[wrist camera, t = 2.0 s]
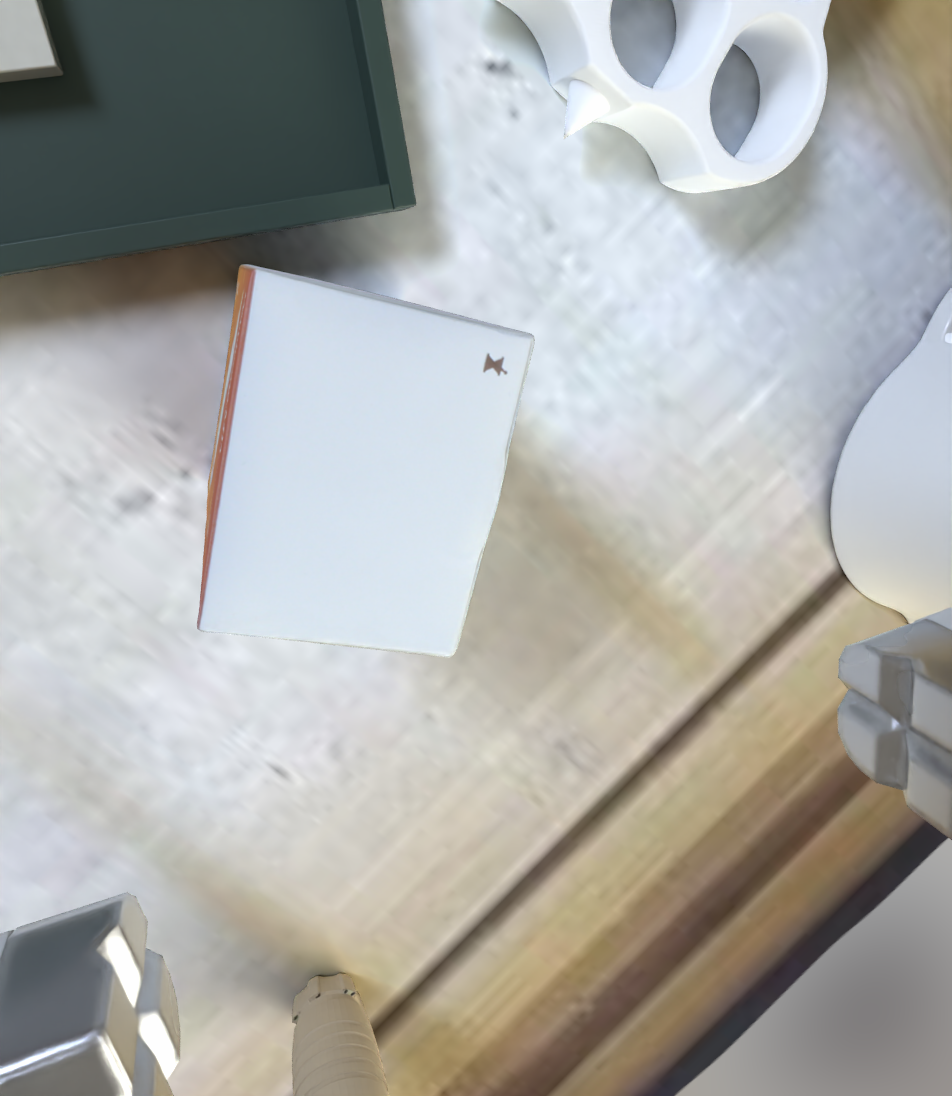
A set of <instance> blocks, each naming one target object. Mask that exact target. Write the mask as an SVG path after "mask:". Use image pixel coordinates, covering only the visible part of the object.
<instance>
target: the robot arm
mask: <svg viewBox="0 0 952 1096" xmlns="http://www.w3.org/2000/svg"><path fill="white" fill-rule="evenodd" d="M830 523H831V533H832V539H833V544H834V548H835V552H836V555H837V558H838V561H839V563H840V565H841V567H842V569H843V571H844V573H845V575H846V576H847V578H848V579H849V580H850V582H851V583H852V584H853V585H854V587H855V588H857V589H858V590H859V591H860V592H861V593H862V594H863V595H865V596H866V597H867V598H869V599H871V600H872V601H874V602H876V603H878V604H881V605H884V606H886V607H889V608H891V609H894V610H896V611H898V612H900V613H901V614H903V615H904V616H905V618H906V620H907V621H908V623H909V624H907V625H905V626H902V627H899V628H896V629H893V630H890V631H887V632H885V633H882V634H879V635H876V636H873V637H870V638H867V639H865V640H862V641H859V642H856V643H853V644H850V645H847V646H845V648H844V650H843V652H842V654H841V656H840V658H839V673H838V678H839V679H840V680H841V681H842V682H843V683H844V685H845V686H846V687H847V688H848V691H847V693H846V695H845V697H844V699H843V700H842V702H841V704H840V706H839V708H838V733H839V736H840V738H841V740H842V743H843V745H844V747H845V750H846V752H847V754H848V756H849V757H850V758H851V759H852V761H853V762H854V763H855V764H856V766H857V767H858V768H859V769H860V770H861V771H862V772H863V773H865V774H866V775H867V776H869V777H870V778H871V779H872V780H874V781H875V782H876V783H879V784H883V785H886V786H890V787H893V788H897V789H900V790H903V793H904V796H905V800H906V803H907V807H909V808H910V809H911V810H913V811H914V812H915V813H917V814H918V815H919V816H921V817H922V818H923V819H925V820H926V821H927V822H929V823H930V824H931V825H932V826H934V827H935V828H936V829H938V830H939V831H940V832H942V833H943V834H944V835H946V836H947V837H948V838H950V839H951V840H952V288H951V289H950V290H949V291H948V292H947V293H946V294H945V296H944V297H943V299H942V300H941V302H940V303H939V305H938V307H937V309H936V310H935V312H934V314H933V316H932V318H931V320H930V322H929V323H928V325H927V327H926V329H925V331H924V333H923V335H922V337H921V339H920V341H919V343H918V344H917V345H916V347H915V348H914V349H913V350H912V352H911V353H910V354H909V355H908V356H907V357H906V358H905V359H904V360H903V361H902V362H901V363H900V364H899V365H898V366H897V367H896V368H895V369H894V371H893V372H892V373H891V374H890V375H889V376H888V377H887V378H886V379H885V380H884V381H883V382H882V384H881V385H880V386H879V387H878V388H877V390H876V391H875V392H874V394H873V395H872V396H871V398H870V399H869V401H868V402H867V403H866V405H865V406H864V408H863V410H862V411H861V413H860V414H859V416H858V418H857V420H856V422H855V424H854V425H853V427H852V429H851V431H850V434H849V436H848V438H847V440H846V443H845V445H844V448H843V450H842V453H841V456H840V459H839V462H838V466H837V469H836V473H835V478H834V482H833V488H832V495H831V508H830ZM147 925H148V921H147V919H146V917H145V915H144V913H143V911H142V909H141V907H140V905H139V903H138V900H137V898H136V897H135V896H133V895H131V894H129V893H128V892H127V893H124V894H121V895H118V896H114V897H111V898H108V899H105V900H102V901H99V902H96V903H93V904H89V905H86V906H83V907H80V908H77V909H74V910H71V911H68V912H65V913H61V914H58V915H55V916H52V917H49V918H46V919H43V920H40V921H36V922H33V923H30V924H27V925H24V926H21V927H18V928H17V929H16V930H12V931H7V932H4V933H1V934H0V1096H174V1095H173V1093H172V1091H171V1089H170V1086H169V1084H168V1082H167V1079H168V1077H169V1076H170V1074H171V1072H172V1071H173V1069H174V1068H175V1066H176V1064H177V1063H178V1061H179V1059H180V1024H179V1016H178V1007H177V999H176V995H175V991H174V987H173V984H172V980H171V976H170V973H169V971H168V968H167V966H166V964H165V961H164V959H163V956H162V955H160V954H157V953H155V952H153V951H151V950H149V949H147V948H146V937H147Z"/></svg>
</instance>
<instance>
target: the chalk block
mask: <svg viewBox="0 0 952 1096" xmlns="http://www.w3.org/2000/svg"><path fill="white" fill-rule="evenodd" d="M62 75H63V70H62V67H61V63H60V60H59V57H58V54H57V51H56V47H55V44H54V41H53V38H52V35H51V31H50V28H49V25H48V22H47V19H46V15H45V12H44V9H43V6H42V3H41V0H0V82H9V81H18V80H27V79H36V78H44V77H53V76H62Z"/></svg>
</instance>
